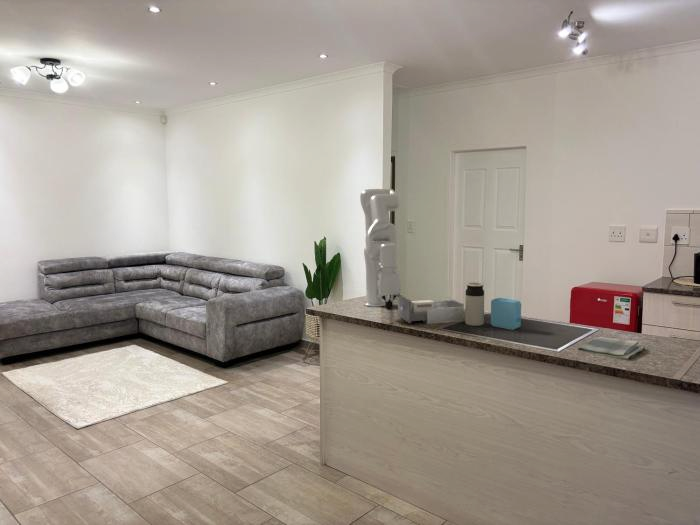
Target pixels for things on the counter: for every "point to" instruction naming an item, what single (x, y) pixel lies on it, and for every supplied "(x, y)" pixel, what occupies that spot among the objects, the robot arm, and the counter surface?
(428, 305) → the cartridge
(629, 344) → the dish towel
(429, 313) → the grey storage bin
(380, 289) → the robot arm
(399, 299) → the grey drawer
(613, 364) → the counter surface
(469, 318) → the travel mug
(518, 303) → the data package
